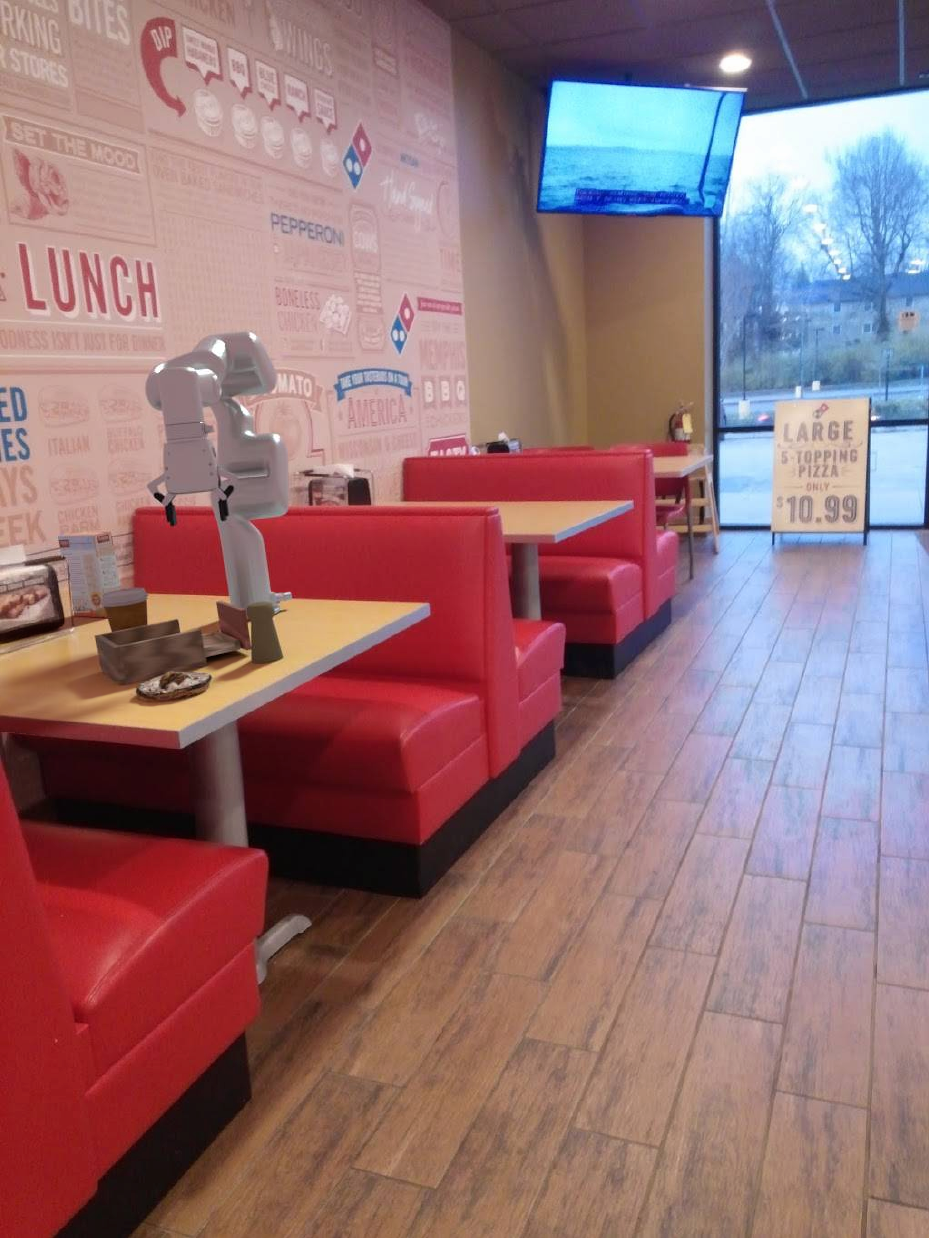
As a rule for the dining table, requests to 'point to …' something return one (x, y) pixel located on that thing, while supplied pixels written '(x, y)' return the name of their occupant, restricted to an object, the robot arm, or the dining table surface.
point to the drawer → (228, 631)
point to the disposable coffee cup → (125, 608)
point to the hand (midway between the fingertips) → (199, 523)
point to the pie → (173, 686)
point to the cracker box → (90, 570)
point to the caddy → (149, 651)
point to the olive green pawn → (263, 633)
